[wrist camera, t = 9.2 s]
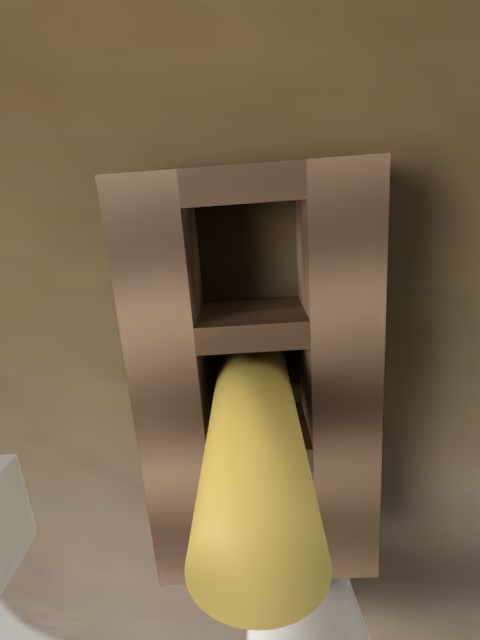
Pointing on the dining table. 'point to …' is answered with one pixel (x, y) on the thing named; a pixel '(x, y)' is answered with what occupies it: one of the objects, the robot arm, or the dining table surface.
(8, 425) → the dining table surface
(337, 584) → the drinking glass
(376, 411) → the hole block
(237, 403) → the peg
